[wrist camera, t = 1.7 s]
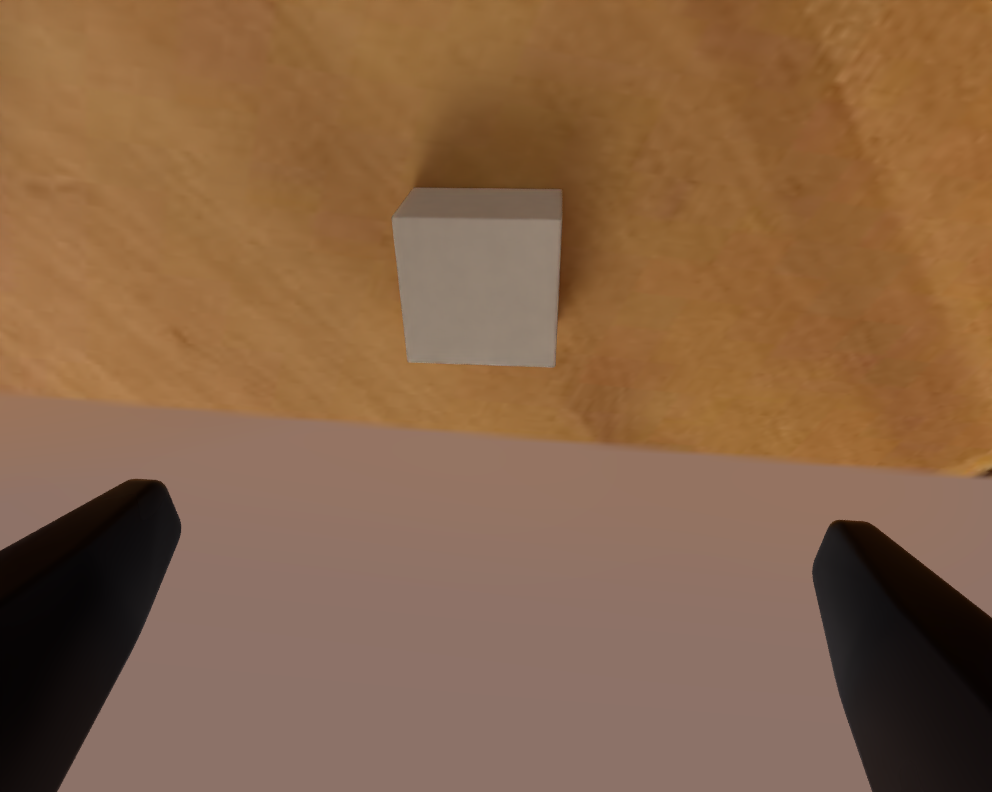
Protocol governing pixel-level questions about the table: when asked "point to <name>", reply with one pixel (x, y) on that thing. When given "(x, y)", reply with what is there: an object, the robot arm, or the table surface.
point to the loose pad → (479, 275)
